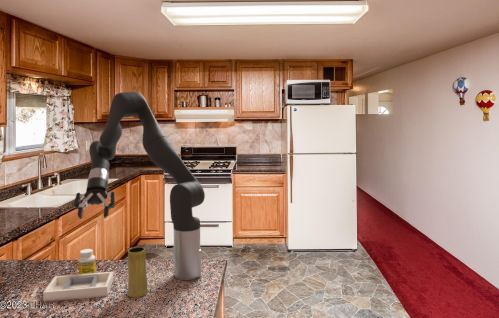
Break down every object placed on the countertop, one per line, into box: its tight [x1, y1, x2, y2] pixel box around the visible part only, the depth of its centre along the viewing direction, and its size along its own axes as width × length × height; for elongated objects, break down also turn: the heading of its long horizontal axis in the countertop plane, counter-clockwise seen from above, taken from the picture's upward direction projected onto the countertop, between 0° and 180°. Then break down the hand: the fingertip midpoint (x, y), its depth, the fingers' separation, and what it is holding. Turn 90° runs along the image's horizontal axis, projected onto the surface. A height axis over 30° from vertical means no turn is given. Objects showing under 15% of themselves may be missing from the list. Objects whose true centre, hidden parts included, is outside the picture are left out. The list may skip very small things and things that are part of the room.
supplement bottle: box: [77, 248, 97, 275], centre depth 119 cm, size 5×5×10 cm
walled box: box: [42, 271, 114, 303], centre depth 110 cm, size 18×11×3 cm, turn 103°
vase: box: [127, 246, 149, 298], centre depth 108 cm, size 6×6×14 cm
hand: (92, 217), depth 129 cm, fingers open, 8 cm apart
